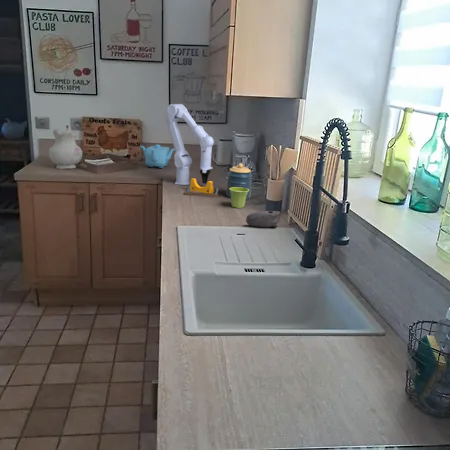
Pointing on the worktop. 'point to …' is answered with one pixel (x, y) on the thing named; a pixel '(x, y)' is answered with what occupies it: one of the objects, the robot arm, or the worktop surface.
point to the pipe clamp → (197, 188)
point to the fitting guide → (201, 193)
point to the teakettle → (157, 155)
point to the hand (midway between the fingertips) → (204, 183)
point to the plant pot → (238, 196)
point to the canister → (239, 179)
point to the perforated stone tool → (264, 218)
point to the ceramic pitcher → (65, 149)
